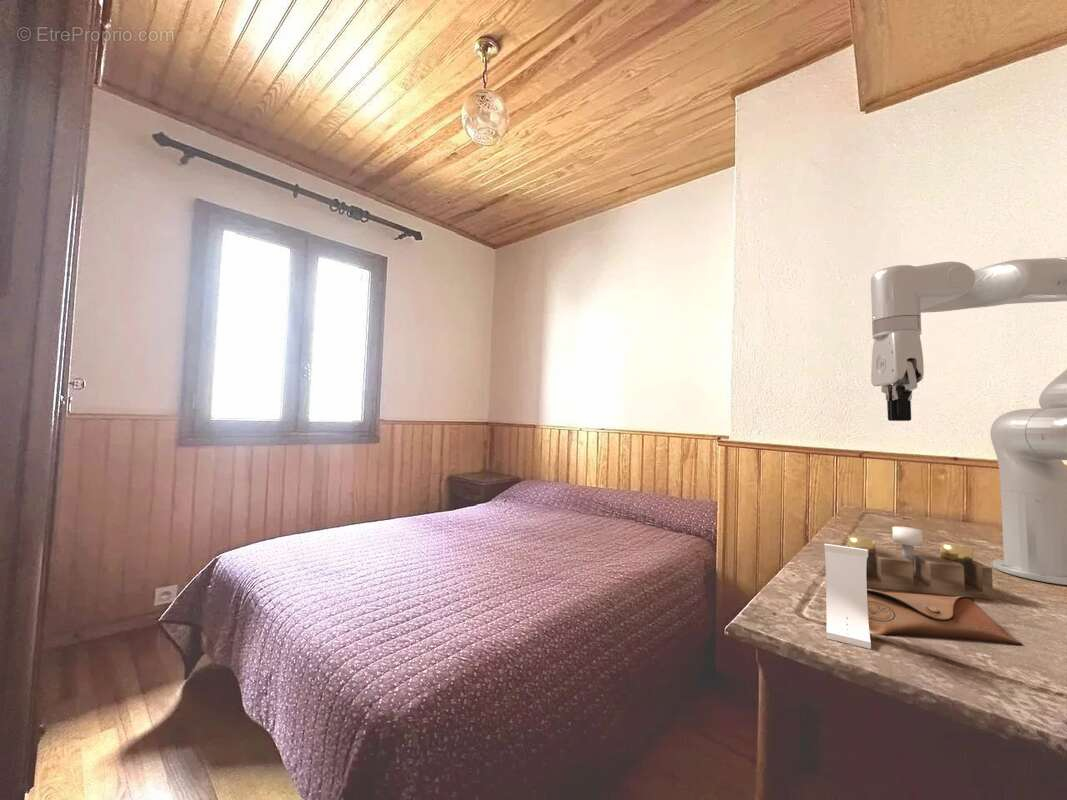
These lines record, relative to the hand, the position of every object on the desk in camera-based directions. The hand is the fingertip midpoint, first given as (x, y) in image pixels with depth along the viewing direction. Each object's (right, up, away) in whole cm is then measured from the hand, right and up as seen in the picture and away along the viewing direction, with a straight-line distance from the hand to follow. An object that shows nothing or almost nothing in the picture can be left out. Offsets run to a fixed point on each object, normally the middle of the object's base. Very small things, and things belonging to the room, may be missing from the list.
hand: (899, 420), depth 86 cm
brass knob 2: (+1, -27, -11) cm, 30 cm away
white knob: (-6, -25, -9) cm, 28 cm away
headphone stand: (-31, -27, -28) cm, 50 cm away
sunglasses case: (-18, -28, -25) cm, 42 cm away
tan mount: (-6, -29, -9) cm, 31 cm away
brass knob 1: (-13, -27, -7) cm, 31 cm away
